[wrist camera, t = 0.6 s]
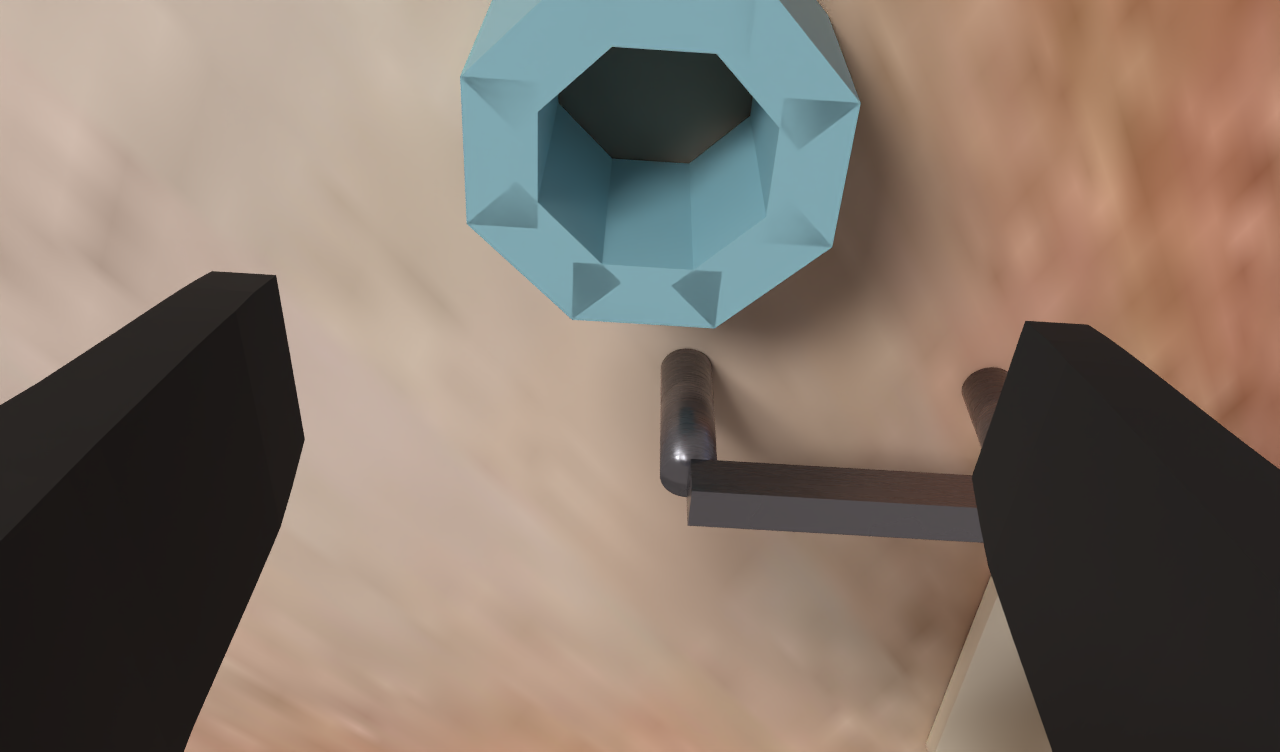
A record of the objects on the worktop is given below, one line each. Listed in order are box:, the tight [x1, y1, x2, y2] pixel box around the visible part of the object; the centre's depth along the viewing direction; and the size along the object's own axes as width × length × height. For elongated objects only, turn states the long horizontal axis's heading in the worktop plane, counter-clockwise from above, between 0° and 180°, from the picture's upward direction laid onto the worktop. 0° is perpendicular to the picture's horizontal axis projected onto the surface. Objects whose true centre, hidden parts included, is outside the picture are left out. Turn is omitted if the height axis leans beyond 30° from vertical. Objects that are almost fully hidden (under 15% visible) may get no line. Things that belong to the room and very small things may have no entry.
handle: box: [660, 349, 1008, 543], centre depth 20 cm, size 10×6×4 cm, turn 87°
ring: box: [460, 0, 861, 328], centre depth 16 cm, size 5×5×4 cm
